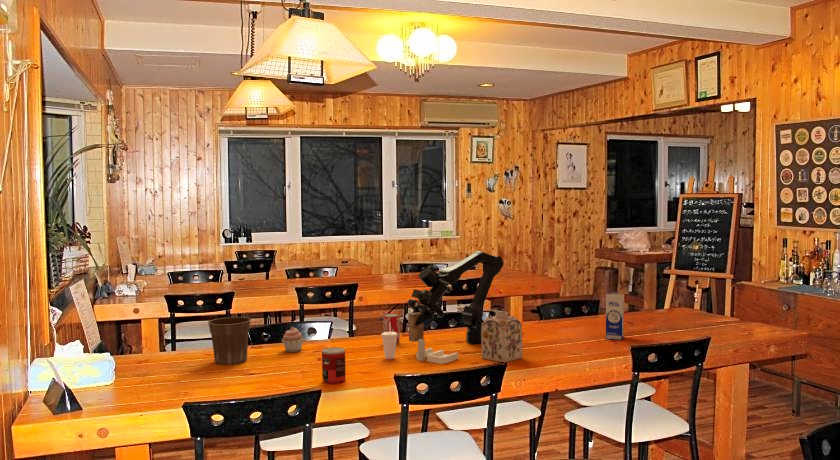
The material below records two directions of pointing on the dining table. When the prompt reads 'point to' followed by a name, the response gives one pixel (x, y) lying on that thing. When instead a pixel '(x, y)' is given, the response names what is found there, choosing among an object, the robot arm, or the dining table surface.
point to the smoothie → (389, 343)
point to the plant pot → (230, 339)
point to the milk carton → (614, 316)
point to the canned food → (333, 365)
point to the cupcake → (293, 340)
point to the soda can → (392, 324)
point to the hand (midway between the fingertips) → (413, 324)
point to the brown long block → (415, 327)
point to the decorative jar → (501, 338)
